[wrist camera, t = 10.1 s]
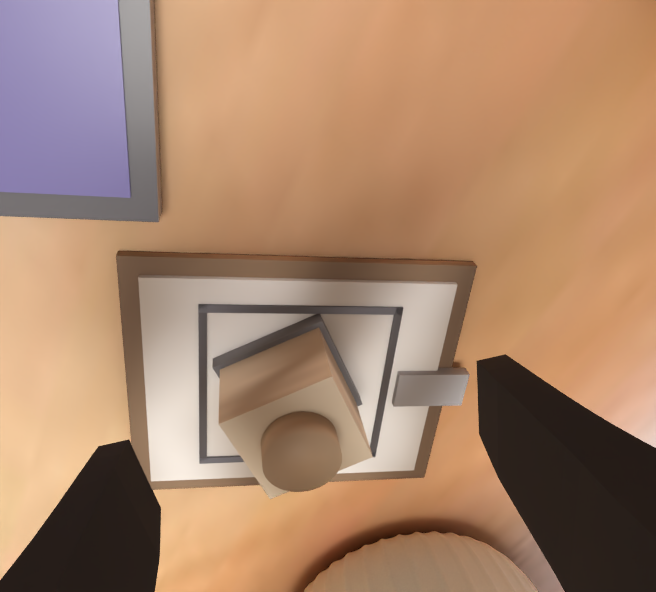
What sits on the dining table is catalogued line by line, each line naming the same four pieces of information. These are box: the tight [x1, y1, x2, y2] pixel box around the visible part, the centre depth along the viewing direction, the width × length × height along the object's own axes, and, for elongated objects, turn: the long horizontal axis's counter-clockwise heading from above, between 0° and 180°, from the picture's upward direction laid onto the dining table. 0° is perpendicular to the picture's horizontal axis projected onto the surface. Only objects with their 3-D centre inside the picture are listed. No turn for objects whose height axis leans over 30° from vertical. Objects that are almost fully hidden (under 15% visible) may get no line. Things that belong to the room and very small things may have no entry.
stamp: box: [212, 314, 373, 499], centre depth 20 cm, size 4×4×5 cm
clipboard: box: [116, 251, 477, 490], centre depth 23 cm, size 14×11×1 cm
